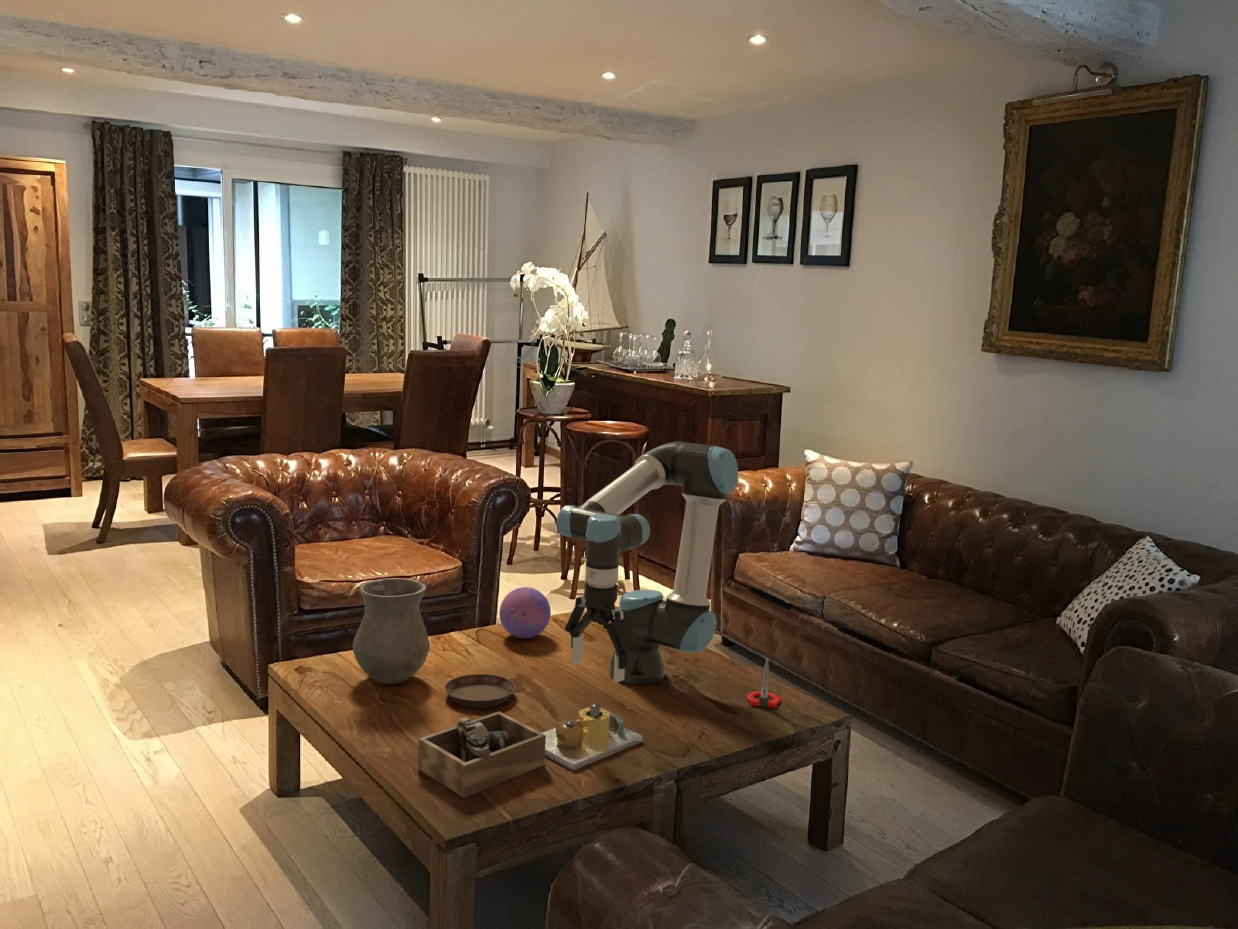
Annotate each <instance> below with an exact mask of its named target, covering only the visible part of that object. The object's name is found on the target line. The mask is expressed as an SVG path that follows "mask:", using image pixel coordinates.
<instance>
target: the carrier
mask: <svg viewBox="0 0 1238 929" xmlns="http://www.w3.org/2000/svg"><path fill="white" fill-rule="evenodd" d="M589 707H590V717H599V716H600V708H601V705H600V704H599V703H591V704H590V706H589ZM609 716H610V718H609V737H608V738H606V739H603V740H601V741H588V740H585V739H583V738H582V731H583V724H582V723H581V722H579V718H578V719H561V720H558V721H557V722H556V723H555V727H554V728H551V729H549V730H546V731H543V732H542V733H543V734H544V735H546V743H545V758H549V759H550V760H552V761H554V762H556V763H558V764H560V765H562V766H563V767H565V768H567V769H569V770H571V771H576V770H579V769H581V768H583V767H585V766H588V765H590V764H593V763H595V762H598V761H600V760H602V759H605V758H607V757H609V756H611V755H614V754H616V753H617V754H618V753H619V752H621V751H624V750H626V749H628V748H631V747H633V746H635V745H637V744H640V743H642V742H643V735H642V734H641V733H640V734H639V733H637V732H635V731H634V730H631V729H628V728H627V727H625V722H624V720H623V719H622V717H621V716H620V715H618V714H616V713H614V712H611V711H609Z"/></svg>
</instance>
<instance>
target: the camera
mask: <svg viewBox="0 0 1238 929" xmlns="http://www.w3.org/2000/svg"><path fill="white" fill-rule="evenodd" d="M470 721H471V720H470V719H469V717H466V716H465V717H461V718H460V719H459V720H458V723H457V724H456V726H457V755H458V757H457V758H459V759H460V760H462V761H464V762H468V761H471V760H474V759H476V758H479V757H482V756H485V755H488V754H490V753H492V752H495V751H498V750H500V749H503V748H506V747H508V746H511V742H510V738H509V735H508V734H507V732H506V731H495V732H493V731H489V732H488V731H487V730H486V728H485V727H484V726H483V724H482V723H480V722H478V723H475V724H473V722H470Z"/></svg>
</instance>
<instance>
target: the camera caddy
mask: <svg viewBox="0 0 1238 929" xmlns="http://www.w3.org/2000/svg"><path fill="white" fill-rule="evenodd" d="M470 722H473V724H475V723H478V722H480V723H482V724H483V726H484V727H485V728H486V730H487V731H488V732H489V731H493V732H495V731H506V732H507V734H508V735H509V738H510V742H511V746H508V747H506V748H503V749H500V750H498V751H495V752H492V753H490V754H488V755H485V756H482V757H479V758H476V759H474V760H471V761H468V762H464V761H462V760H460V759H459V758H458V755H457V725H455V726H452V727H449V728H446V729H443V730H440V731H437V732H435V733H434V732H433V733H432V734H429V735H426V736H423V737H419V738H418V757H417V758H418V760H417V764H418V766H417V767H418V768H417V769H418V770H419V772H422V773H424V774H425V775H427V776H429V778H432V779H433V780H435V781H436V782H438V783H440V784H441V785H442V786H445V787H446V788H447V789H450V790H451V791H453V792H454V793H456V794H457V795H459V796H460V797H462V798H467V797H469V796H471V795H474V794H476V793H479V792H482V791H484V790H487V789H488V788H489V789H490V788H491V787H495V786H496V785H499V784H501V783H503V782H506V781H508V780H511V779H513V778H514V779H515V778H516V777H518V776H521V775H523V774H525V773H528V772H531V771H533V770H536V769H538V768H541V767H543V766H546V764H545V762H546V761H545V760H546V756H545V743H546V735H544V734H543V732H541V731H539V730H536V729H534V728H533V727H531V726H529V725H526V724H524V723H523V722H521V721H519V720H517V719H515V718H513V717H511V716H509V715H507V714H505V713H503V712H501V711H497V712H496V711H495V712H493V713H490V714H487V715H484V716H482V717H478V718H475V719H473V720H472V719H471V720H470Z"/></svg>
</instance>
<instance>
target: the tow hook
mask: <svg viewBox="0 0 1238 929" xmlns="http://www.w3.org/2000/svg"><path fill="white" fill-rule="evenodd" d="M769 660H770V659H769V658H768V657H766V658H765V663H764V667H763V675H762V676H763V678H762V686H761V687H760V688H761V689H760V690H761V691H757V690H756V691H751V692H749V693H747V694H746V696H747V697H746V698H747V701H749V702H750V706H753V707H759V708H768V709H769V708H770V709H777V705H778V704H780V702H781V698H780V697H779V696H778V695H776V694H775V693H772V692H769V687H768V683H769V682H768V681H769V669H770V666H769ZM755 697H759V699H757V698H755ZM769 698H770V699H772V700H769Z"/></svg>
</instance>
